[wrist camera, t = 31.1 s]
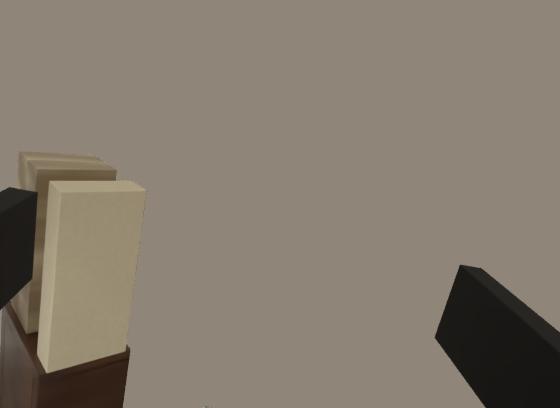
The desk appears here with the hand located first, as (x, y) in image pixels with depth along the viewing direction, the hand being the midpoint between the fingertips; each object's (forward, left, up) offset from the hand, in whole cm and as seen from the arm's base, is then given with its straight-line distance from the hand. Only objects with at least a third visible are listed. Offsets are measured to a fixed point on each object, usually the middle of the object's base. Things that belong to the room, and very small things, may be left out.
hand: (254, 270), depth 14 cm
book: (-20, -7, -18) cm, 28 cm away
